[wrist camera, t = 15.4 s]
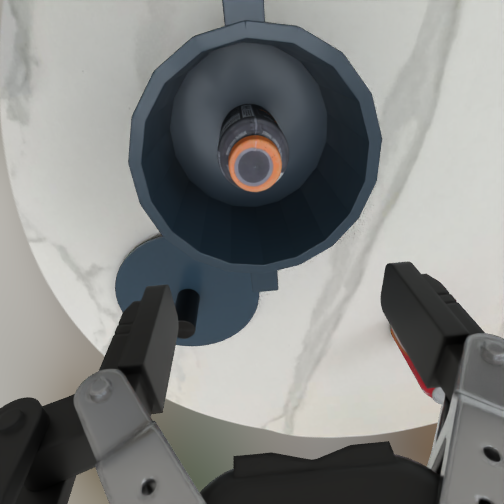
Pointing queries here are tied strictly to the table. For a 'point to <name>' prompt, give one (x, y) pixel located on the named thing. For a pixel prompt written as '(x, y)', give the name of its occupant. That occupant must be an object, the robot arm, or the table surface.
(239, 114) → the pill bottle
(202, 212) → the pot
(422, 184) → the table surface
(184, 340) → the lid
